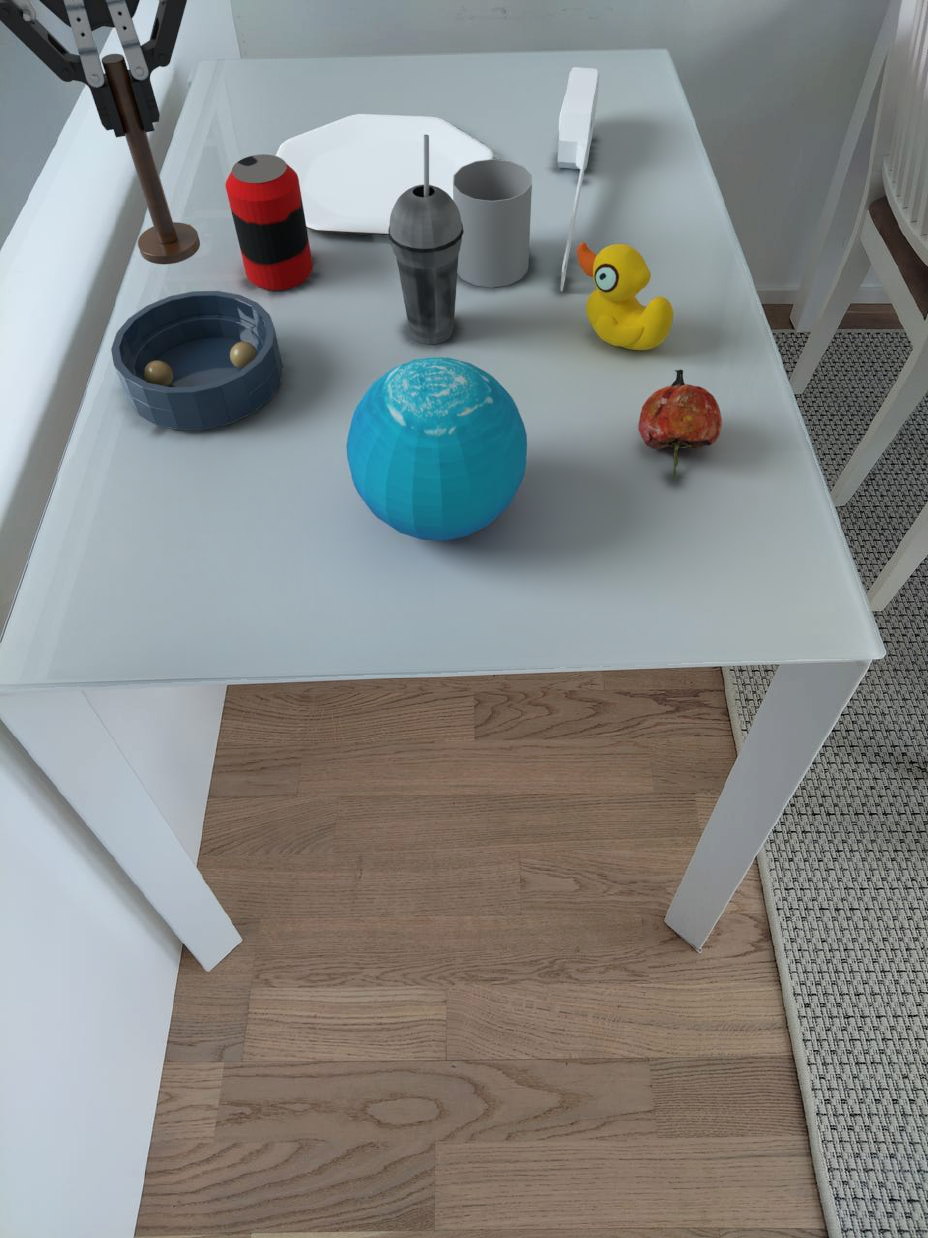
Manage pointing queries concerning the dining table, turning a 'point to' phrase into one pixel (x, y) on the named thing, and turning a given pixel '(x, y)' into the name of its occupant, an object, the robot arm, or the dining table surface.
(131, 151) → the stirrer
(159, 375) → the bead
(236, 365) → the bead
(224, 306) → the bowl
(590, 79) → the spatula
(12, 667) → the dining table surface
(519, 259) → the cup
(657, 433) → the orange red pumpkin
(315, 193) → the plate
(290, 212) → the soda can
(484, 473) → the decorative orb
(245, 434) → the dining table surface
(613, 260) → the duckling
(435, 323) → the beverage cup
